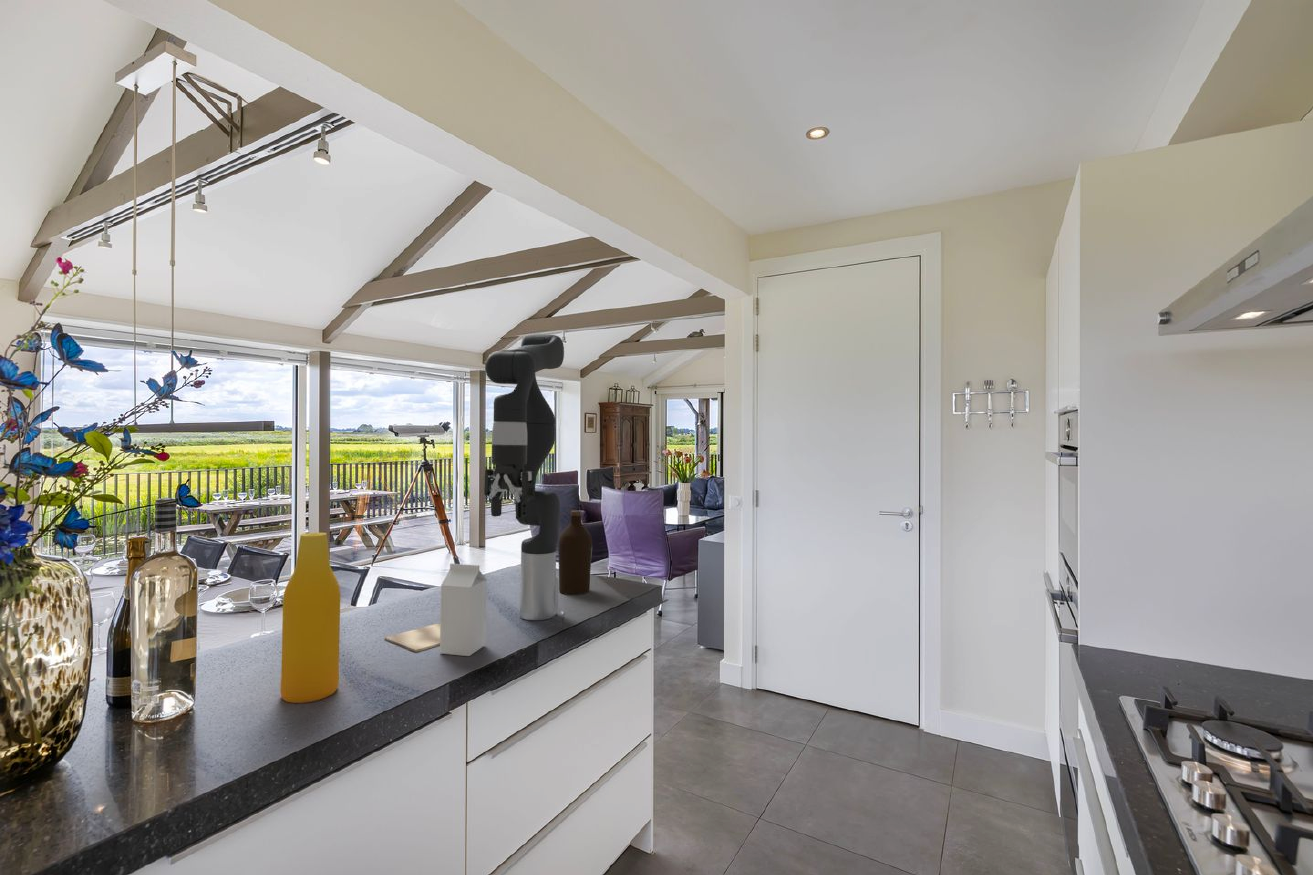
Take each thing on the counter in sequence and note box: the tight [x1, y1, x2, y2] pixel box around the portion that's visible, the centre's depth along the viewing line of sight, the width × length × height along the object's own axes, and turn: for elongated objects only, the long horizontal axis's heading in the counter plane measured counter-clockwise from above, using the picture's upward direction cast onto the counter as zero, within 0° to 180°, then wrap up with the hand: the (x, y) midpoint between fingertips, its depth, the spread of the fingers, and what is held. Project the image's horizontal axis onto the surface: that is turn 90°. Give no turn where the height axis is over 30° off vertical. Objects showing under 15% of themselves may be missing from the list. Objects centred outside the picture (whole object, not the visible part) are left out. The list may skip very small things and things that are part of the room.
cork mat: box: [383, 622, 441, 653], centre depth 140 cm, size 15×13×1 cm
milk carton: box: [439, 563, 487, 657], centre depth 132 cm, size 7×7×19 cm
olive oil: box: [557, 510, 593, 596], centre depth 185 cm, size 11×11×25 cm
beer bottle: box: [279, 532, 342, 704], centre depth 109 cm, size 9×9×29 cm
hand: (508, 517), depth 129 cm, fingers open, 8 cm apart
